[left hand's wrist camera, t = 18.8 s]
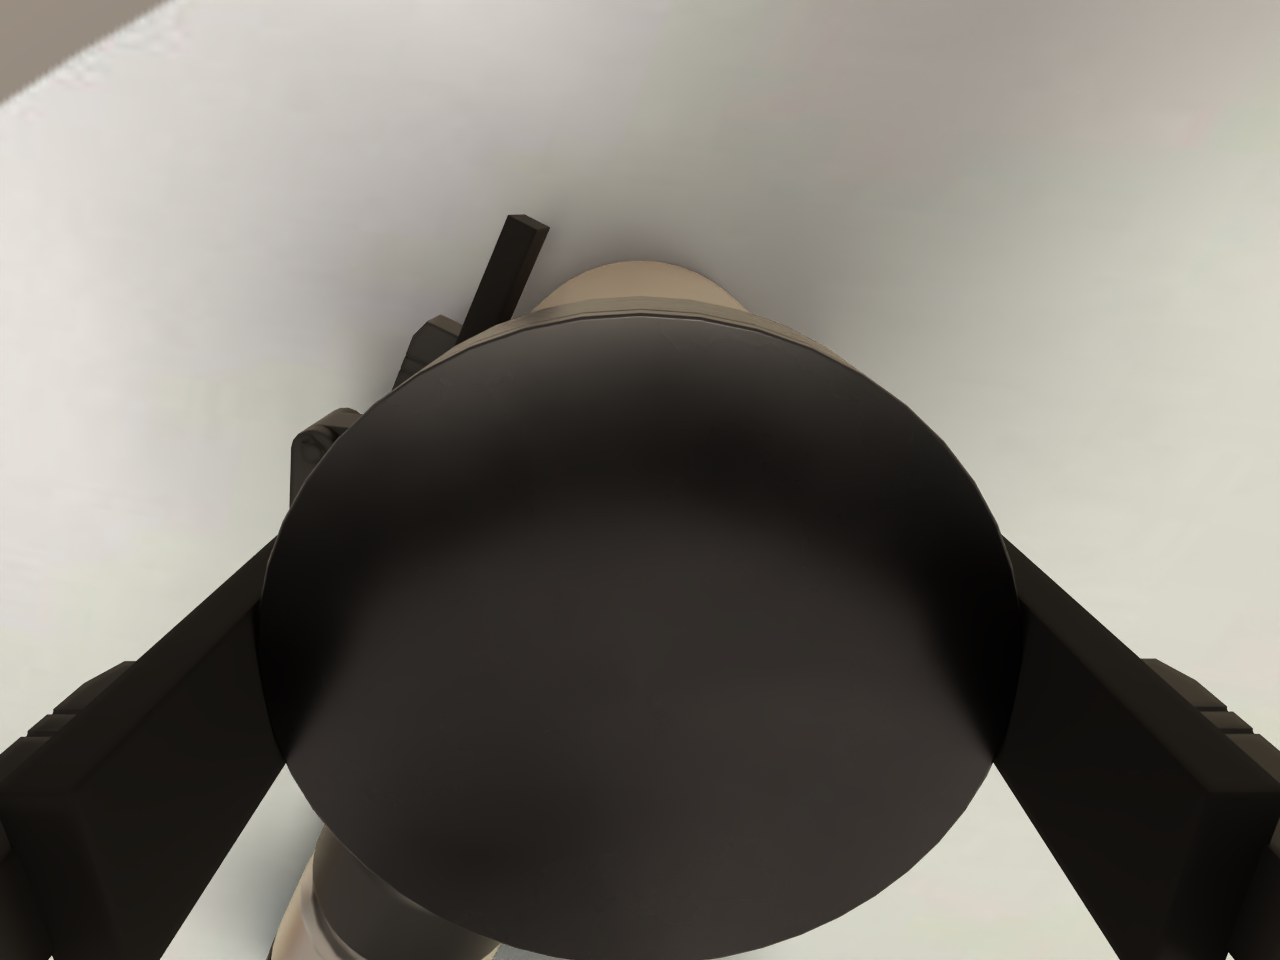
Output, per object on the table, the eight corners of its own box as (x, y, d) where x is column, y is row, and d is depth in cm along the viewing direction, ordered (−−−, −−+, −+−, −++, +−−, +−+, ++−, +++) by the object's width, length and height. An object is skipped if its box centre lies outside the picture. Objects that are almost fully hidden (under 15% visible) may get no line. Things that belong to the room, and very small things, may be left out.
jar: (619, 198, 25) (582, 174, 9) (829, 380, 27) (1102, 624, 11) (453, 417, 27) (195, 702, 11) (656, 568, 29) (677, 983, 14)
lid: (281, 804, 14) (226, 895, 12) (362, 203, 10) (300, 201, 8) (830, 916, 14) (857, 1016, 13) (1081, 405, 11) (1168, 442, 9)
